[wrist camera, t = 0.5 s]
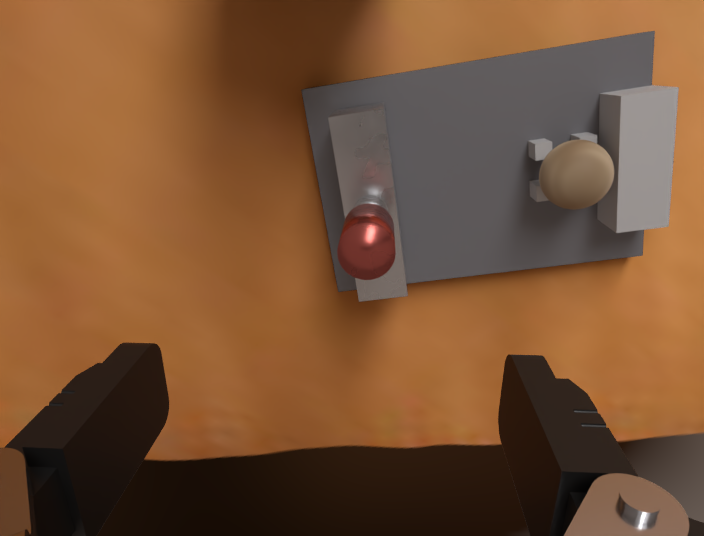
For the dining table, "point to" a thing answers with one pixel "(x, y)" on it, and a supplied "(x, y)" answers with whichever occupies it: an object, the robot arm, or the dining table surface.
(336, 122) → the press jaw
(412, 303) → the dining table surface
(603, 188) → the tan ball
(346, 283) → the nutcracker bench
